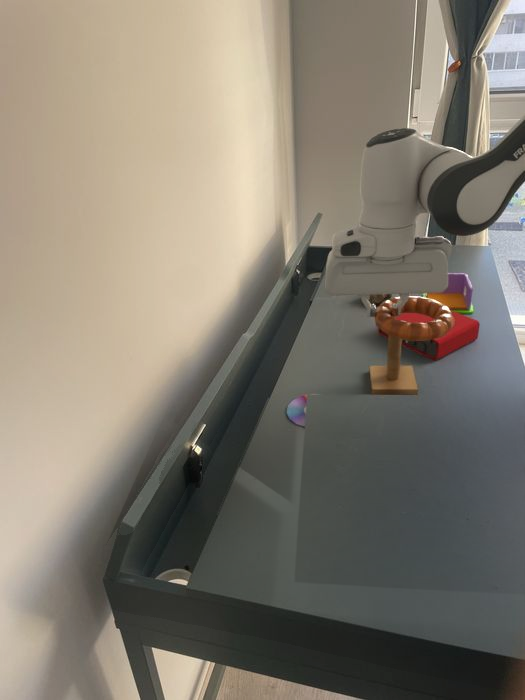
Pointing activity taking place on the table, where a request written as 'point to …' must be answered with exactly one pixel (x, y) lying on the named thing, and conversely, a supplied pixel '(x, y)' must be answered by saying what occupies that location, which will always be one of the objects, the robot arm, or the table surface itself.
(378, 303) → the fossilized seashell
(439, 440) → the table surface
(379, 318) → the ring
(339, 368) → the table surface
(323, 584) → the table surface
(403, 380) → the stand
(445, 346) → the red device housing
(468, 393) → the table surface
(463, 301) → the dollhouse room
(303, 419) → the cd
